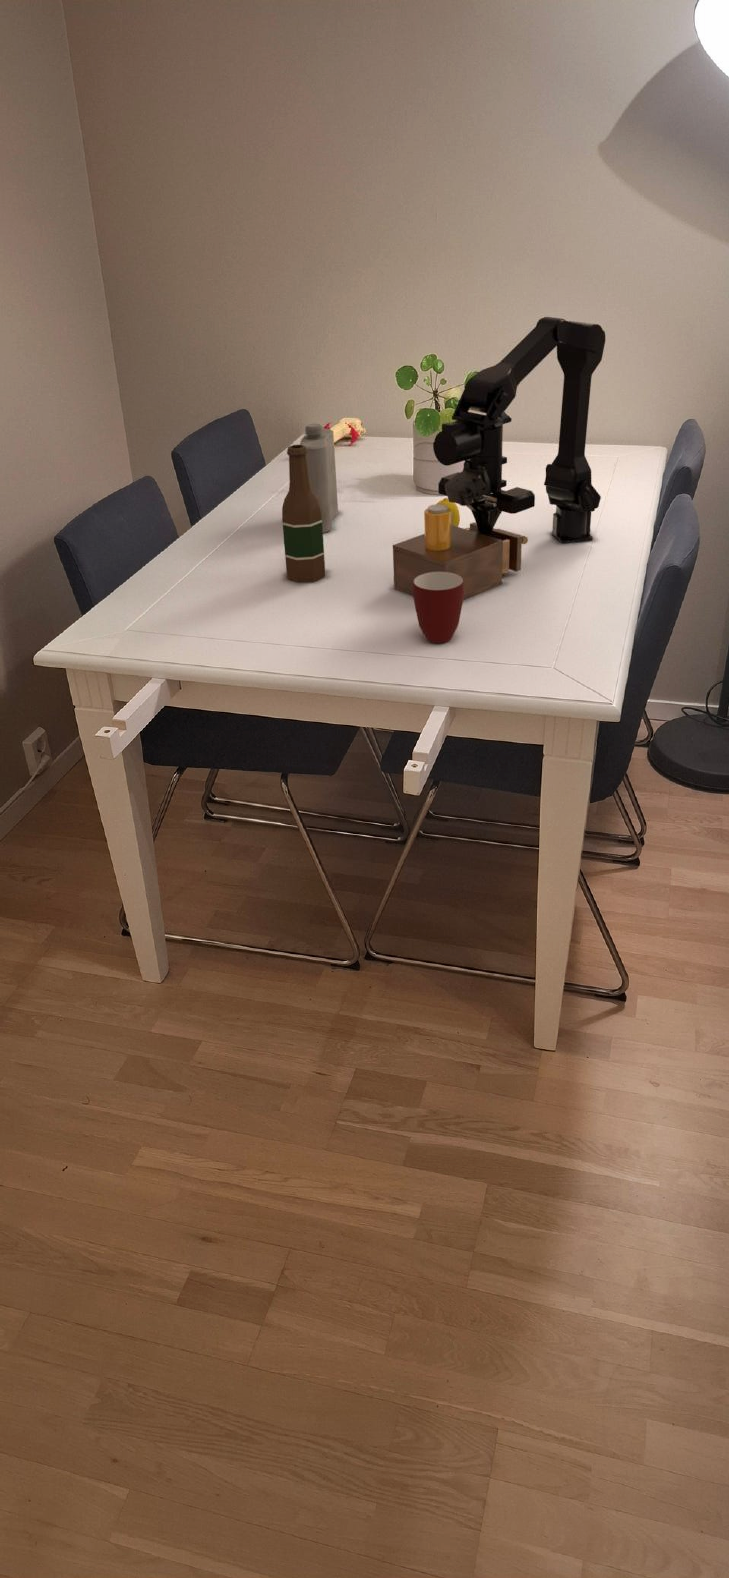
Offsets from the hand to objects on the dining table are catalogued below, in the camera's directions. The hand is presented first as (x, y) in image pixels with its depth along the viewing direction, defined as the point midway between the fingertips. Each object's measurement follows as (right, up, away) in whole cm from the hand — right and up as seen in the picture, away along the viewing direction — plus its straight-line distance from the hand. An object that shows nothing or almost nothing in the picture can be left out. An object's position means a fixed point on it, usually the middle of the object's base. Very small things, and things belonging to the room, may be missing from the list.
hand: (484, 538), depth 200 cm
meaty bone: (-29, +42, +82) cm, 97 cm away
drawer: (-1, -5, +2) cm, 6 cm away
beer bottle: (-33, -6, +6) cm, 34 cm away
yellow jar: (-9, -3, -8) cm, 12 cm away
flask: (-31, +11, +32) cm, 46 cm away
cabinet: (-7, -9, -2) cm, 11 cm away
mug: (-10, -21, -20) cm, 30 cm away
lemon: (-6, +5, +20) cm, 22 cm away
